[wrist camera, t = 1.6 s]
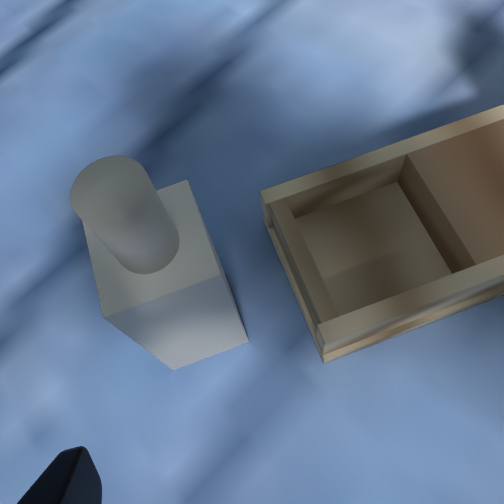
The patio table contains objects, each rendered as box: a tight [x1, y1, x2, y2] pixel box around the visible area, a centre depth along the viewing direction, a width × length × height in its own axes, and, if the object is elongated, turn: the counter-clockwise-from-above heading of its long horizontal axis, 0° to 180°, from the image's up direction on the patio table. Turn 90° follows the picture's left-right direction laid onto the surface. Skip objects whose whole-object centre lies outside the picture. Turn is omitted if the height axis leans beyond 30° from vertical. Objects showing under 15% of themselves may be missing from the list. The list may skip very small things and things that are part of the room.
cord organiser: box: [260, 104, 504, 364], centre depth 23 cm, size 20×8×4 cm, turn 109°
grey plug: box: [70, 156, 249, 370], centre depth 18 cm, size 4×4×12 cm
